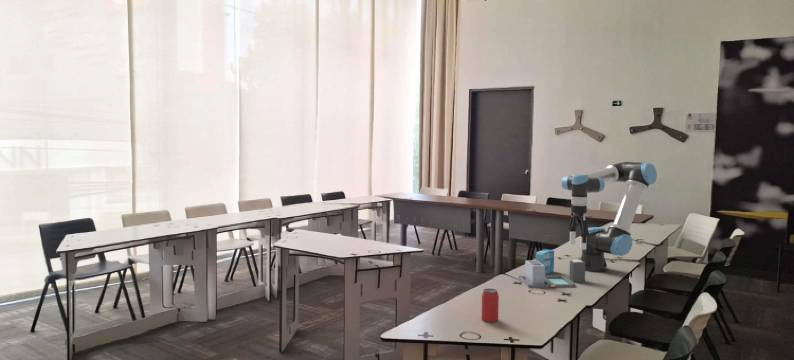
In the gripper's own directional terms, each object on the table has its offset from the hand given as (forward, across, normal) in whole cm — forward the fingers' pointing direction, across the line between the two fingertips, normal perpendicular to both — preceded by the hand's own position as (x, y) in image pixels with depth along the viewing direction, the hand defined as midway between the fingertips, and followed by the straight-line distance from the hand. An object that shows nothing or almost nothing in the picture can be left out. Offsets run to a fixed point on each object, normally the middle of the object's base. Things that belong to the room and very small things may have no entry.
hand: (577, 246), depth 267 cm
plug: (+18, 0, 0) cm, 18 cm away
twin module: (+18, +3, -23) cm, 29 cm away
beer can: (+19, +55, -58) cm, 82 cm away
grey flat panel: (+18, +3, -17) cm, 25 cm away
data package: (+18, -17, -11) cm, 27 cm away
